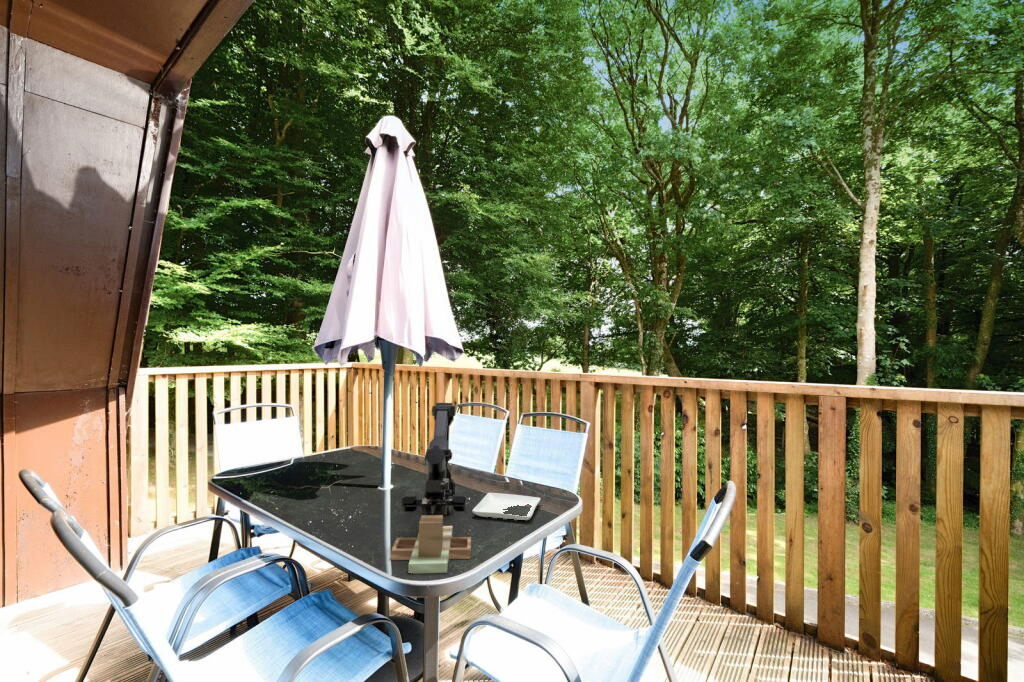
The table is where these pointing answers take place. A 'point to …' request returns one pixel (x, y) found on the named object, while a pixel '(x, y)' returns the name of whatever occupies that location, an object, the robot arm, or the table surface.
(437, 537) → the walnut block
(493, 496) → the salad plate
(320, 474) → the table surface
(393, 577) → the table surface
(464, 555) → the track
